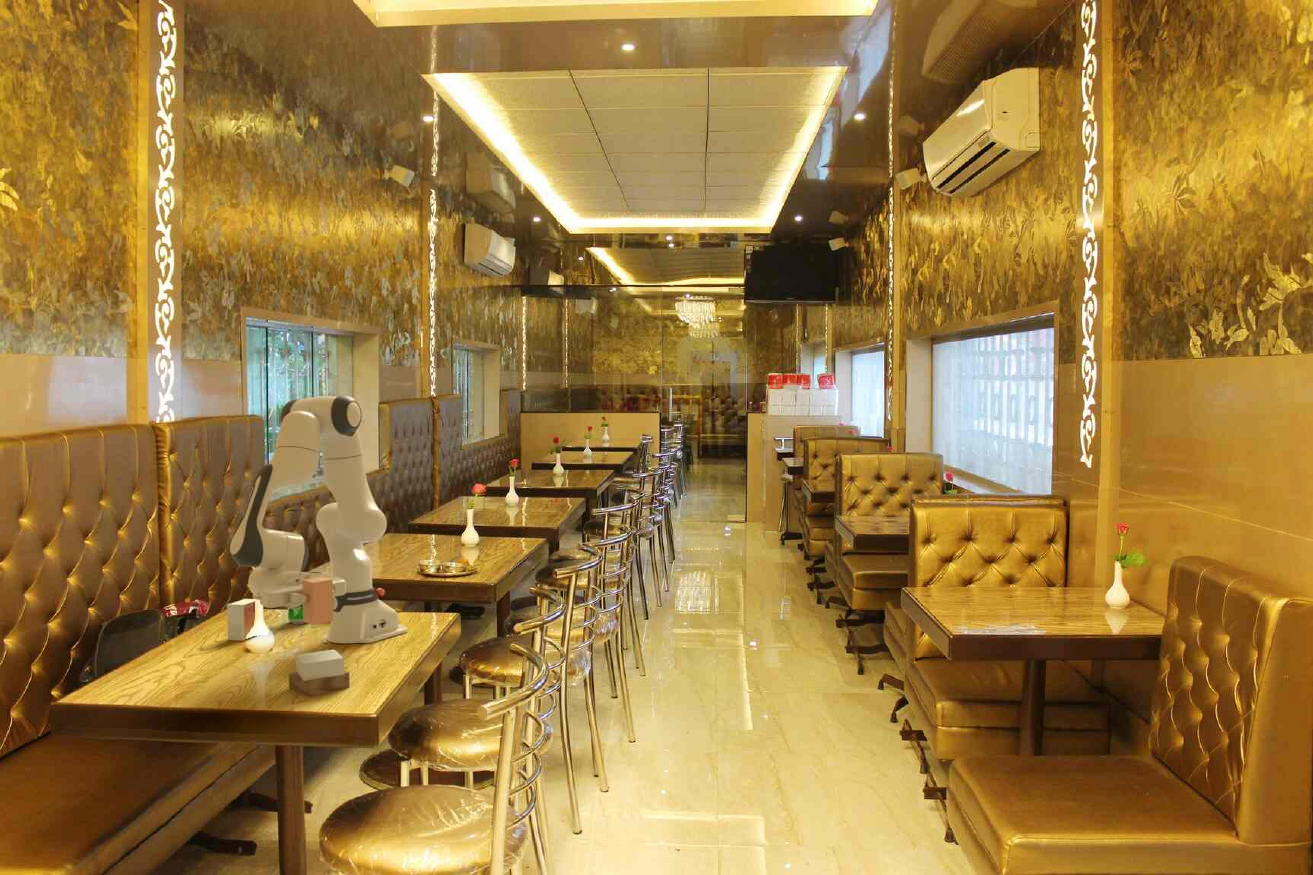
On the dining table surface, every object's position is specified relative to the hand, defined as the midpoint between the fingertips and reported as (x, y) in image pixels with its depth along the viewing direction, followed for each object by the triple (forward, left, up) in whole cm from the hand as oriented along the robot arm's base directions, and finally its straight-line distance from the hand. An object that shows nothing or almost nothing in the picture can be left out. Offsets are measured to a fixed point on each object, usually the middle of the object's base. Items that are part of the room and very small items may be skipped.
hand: (319, 596), depth 218 cm
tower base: (0, -1, -22) cm, 22 cm away
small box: (-10, -62, -22) cm, 66 cm away
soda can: (-30, -67, -22) cm, 77 cm away
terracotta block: (0, -1, -6) cm, 6 cm away
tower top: (0, -1, -18) cm, 18 cm away
